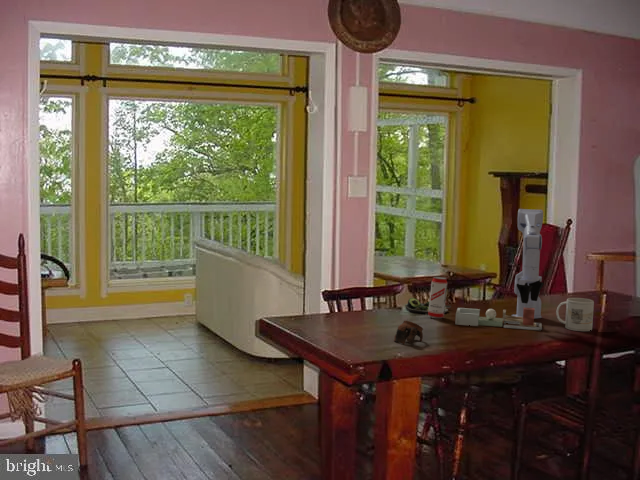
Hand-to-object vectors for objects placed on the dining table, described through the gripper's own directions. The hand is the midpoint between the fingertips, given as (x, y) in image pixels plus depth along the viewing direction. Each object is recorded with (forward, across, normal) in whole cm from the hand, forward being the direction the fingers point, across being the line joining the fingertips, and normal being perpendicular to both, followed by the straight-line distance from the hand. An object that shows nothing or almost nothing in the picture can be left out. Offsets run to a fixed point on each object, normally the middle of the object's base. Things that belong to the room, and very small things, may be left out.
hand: (529, 301), depth 292 cm
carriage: (+9, +2, -3) cm, 10 cm away
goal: (+10, +10, -20) cm, 25 cm away
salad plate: (+10, +2, -46) cm, 47 cm away
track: (+10, +3, -6) cm, 12 cm away
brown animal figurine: (+10, +55, -16) cm, 58 cm away
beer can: (+10, +12, -34) cm, 37 cm away
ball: (+6, +6, -12) cm, 15 cm away
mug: (+10, -13, +13) cm, 21 cm away
